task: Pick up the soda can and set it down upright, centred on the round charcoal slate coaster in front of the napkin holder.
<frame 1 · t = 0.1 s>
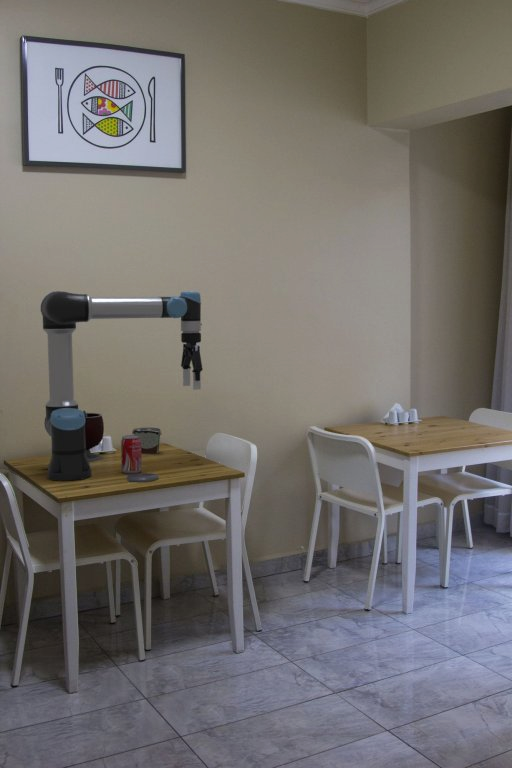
hand: (191, 387, 327), 28 cm above the table, fingers open, 13 cm apart
soda can: (131, 472, 307), on the table
food container: (149, 453, 344), on the table
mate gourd: (86, 459, 332), on the table
slate coaster: (142, 478, 296), on the table
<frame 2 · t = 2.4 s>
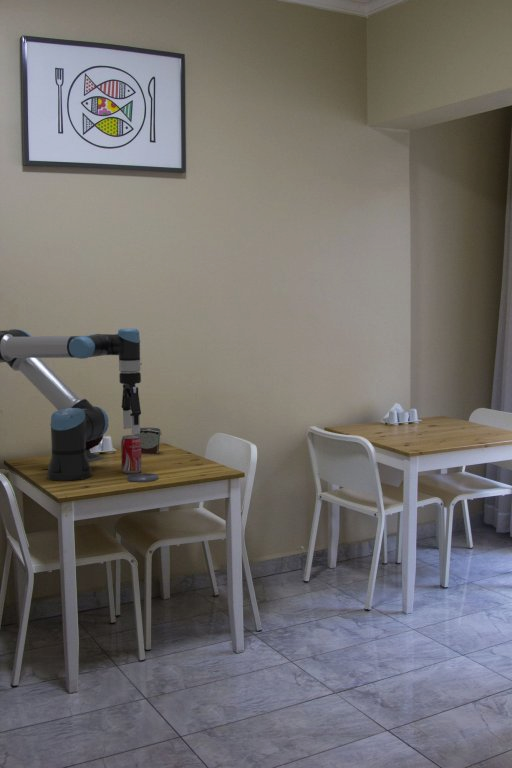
hand: (131, 431, 305), 15 cm above the table, fingers open, 13 cm apart
nothing on the table moved.
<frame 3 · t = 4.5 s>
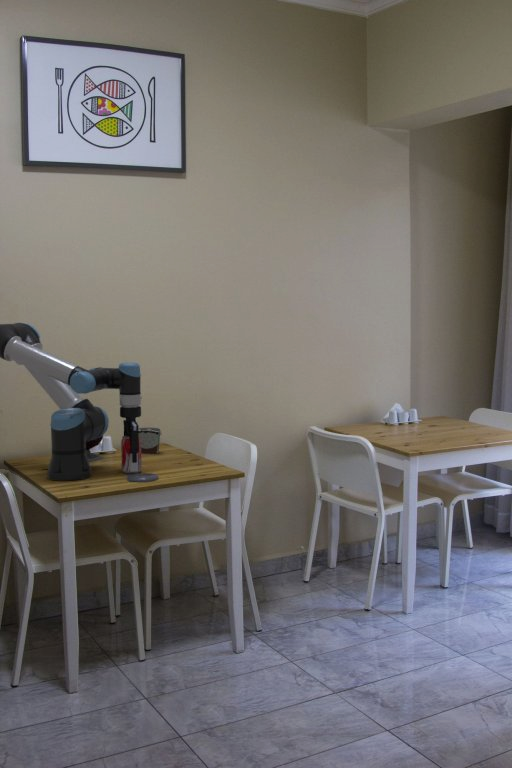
hand: (131, 469, 307), 1 cm above the table, fingers closed on soda can, 7 cm apart
soda can: (131, 472, 307), on the table, touching gripper
everything else where it was.
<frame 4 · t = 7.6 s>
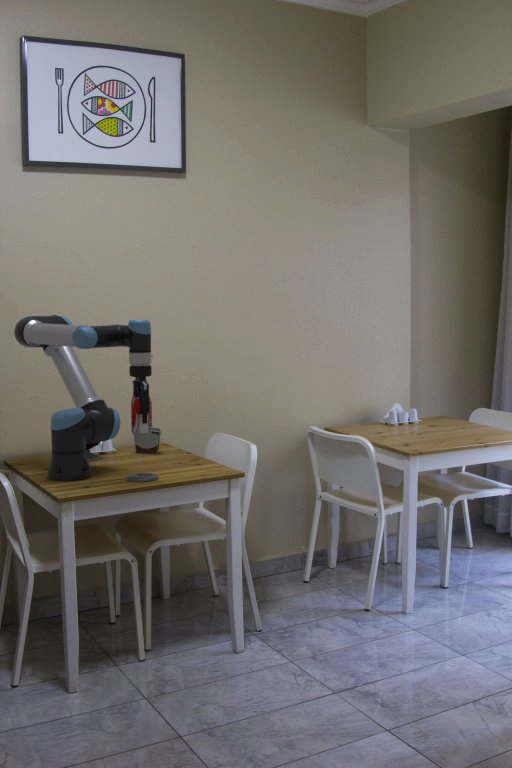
hand: (141, 431, 294), 17 cm above the table, fingers closed on soda can, 7 cm apart
soda can: (141, 434, 294), point 15 cm above the table, touching gripper
everything else where it was.
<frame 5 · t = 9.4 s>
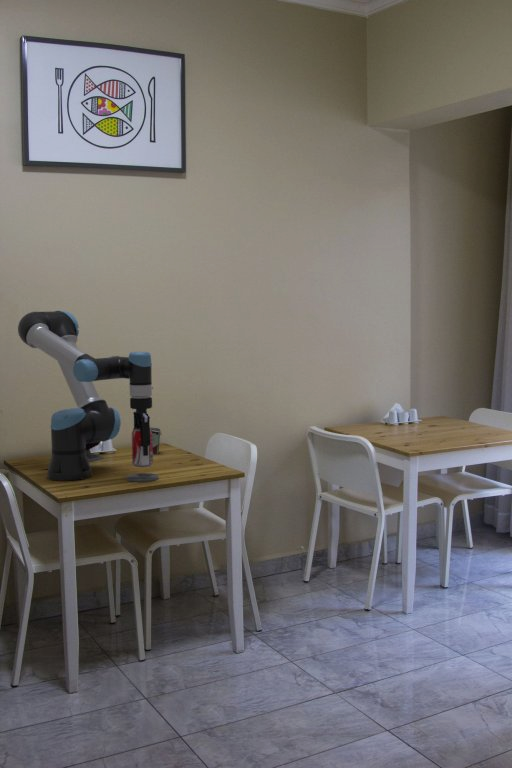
hand: (142, 462, 295), 6 cm above the table, fingers closed on soda can, 7 cm apart
soda can: (142, 466, 295), point 4 cm above the table, touching gripper
everything else where it was.
when the fingers open (3 cm above the table, at t = 10.8 s): soda can drops 1 cm, resting on slate coaster.
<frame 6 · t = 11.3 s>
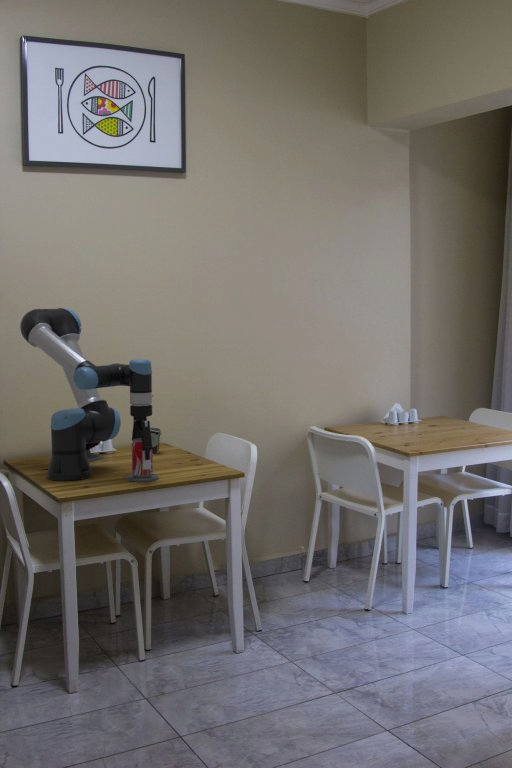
hand: (142, 465, 295), 5 cm above the table, fingers open, 13 cm apart
soda can: (142, 477, 296), point 1 cm above the table, touching slate coaster
everything else where it was.
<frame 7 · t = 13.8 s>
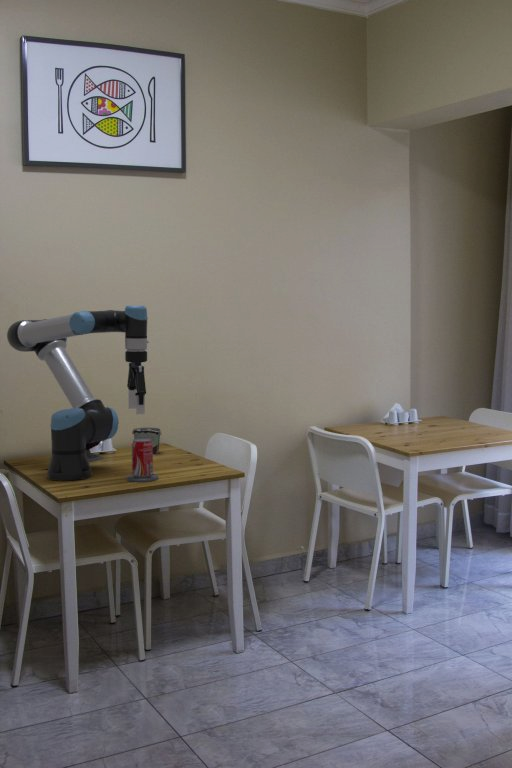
hand: (136, 411, 297), 23 cm above the table, fingers open, 13 cm apart
nothing on the table moved.
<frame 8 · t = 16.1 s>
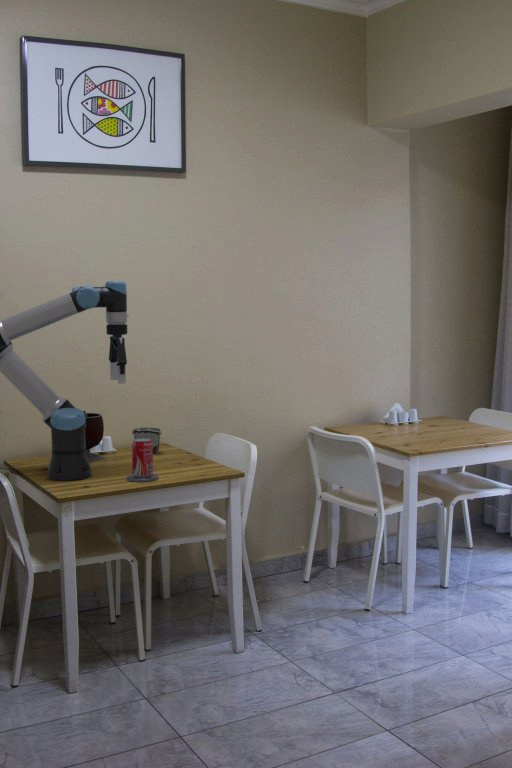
hand: (118, 381, 313), 32 cm above the table, fingers open, 13 cm apart
nothing on the table moved.
at the end: soda can 0.1 cm off-centre on the slate coaster, point 0.6 cm above the slate coaster's base; soda can tilted 0°; the gripper is holding nothing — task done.
